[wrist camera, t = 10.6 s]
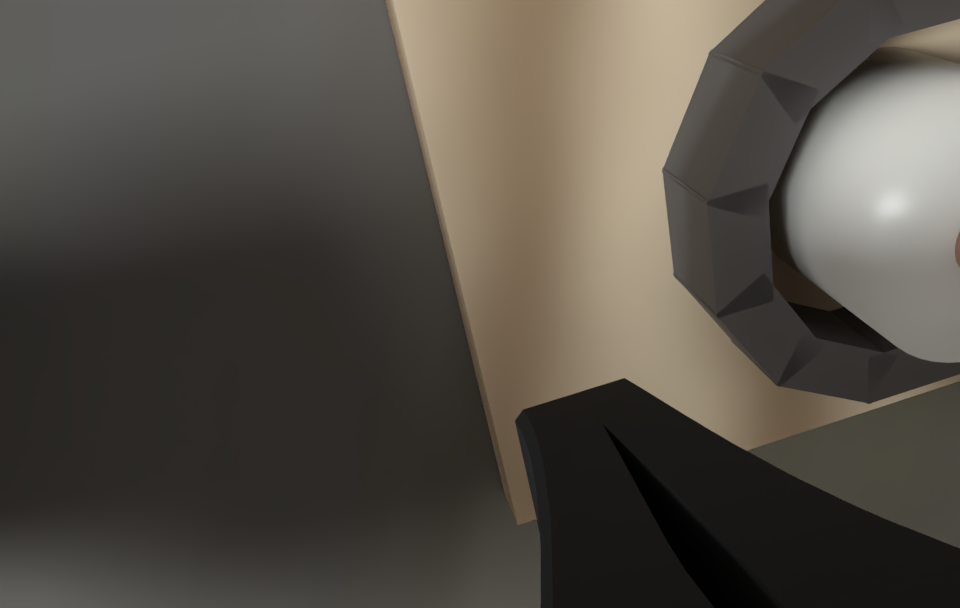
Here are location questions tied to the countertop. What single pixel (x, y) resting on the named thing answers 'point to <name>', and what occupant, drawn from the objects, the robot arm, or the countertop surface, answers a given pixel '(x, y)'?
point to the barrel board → (647, 203)
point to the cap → (881, 200)
